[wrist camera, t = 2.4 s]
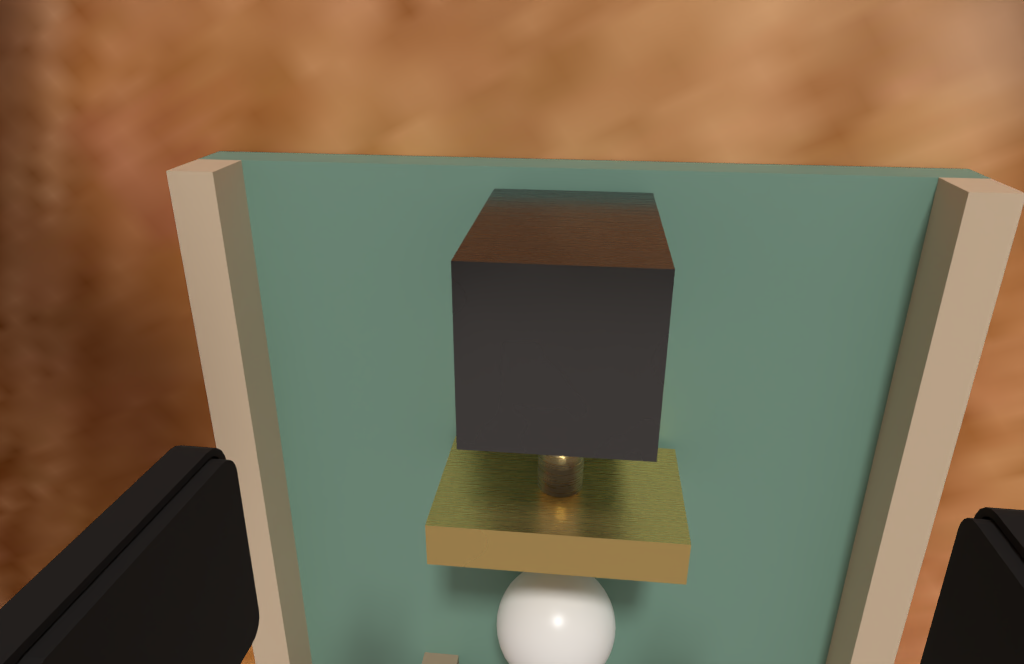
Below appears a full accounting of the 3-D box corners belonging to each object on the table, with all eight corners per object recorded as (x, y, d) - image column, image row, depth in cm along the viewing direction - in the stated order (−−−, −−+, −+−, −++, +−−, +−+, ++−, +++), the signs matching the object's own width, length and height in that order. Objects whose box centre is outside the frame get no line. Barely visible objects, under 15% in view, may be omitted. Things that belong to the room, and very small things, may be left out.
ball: (503, 533, 24) (488, 617, 20) (617, 541, 23) (620, 629, 20) (504, 619, 25) (489, 711, 22) (611, 628, 25) (612, 723, 21)
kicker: (448, 187, 19) (386, 258, 14) (702, 194, 18) (744, 271, 13) (456, 469, 22) (410, 617, 17) (671, 483, 22) (694, 642, 16)
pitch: (219, 151, 21) (165, 170, 18) (968, 169, 19) (1026, 193, 16) (303, 709, 30) (276, 775, 27) (821, 761, 28) (844, 837, 25)
